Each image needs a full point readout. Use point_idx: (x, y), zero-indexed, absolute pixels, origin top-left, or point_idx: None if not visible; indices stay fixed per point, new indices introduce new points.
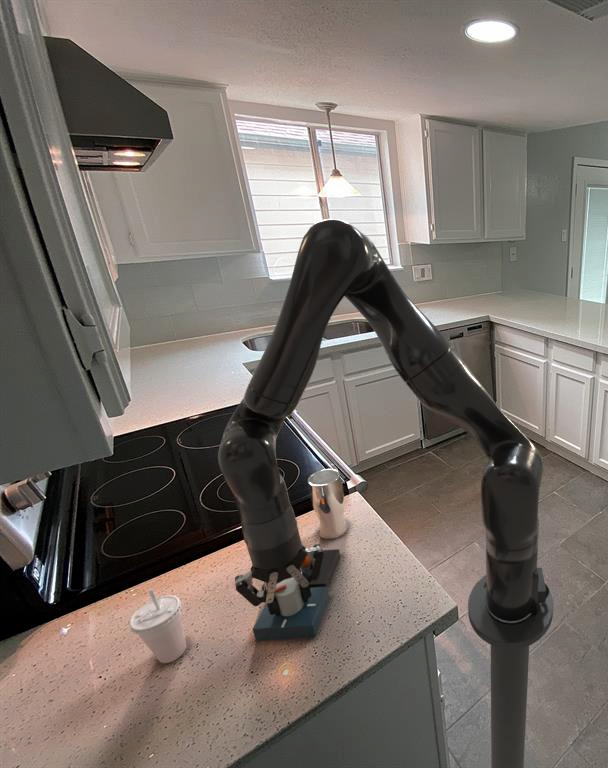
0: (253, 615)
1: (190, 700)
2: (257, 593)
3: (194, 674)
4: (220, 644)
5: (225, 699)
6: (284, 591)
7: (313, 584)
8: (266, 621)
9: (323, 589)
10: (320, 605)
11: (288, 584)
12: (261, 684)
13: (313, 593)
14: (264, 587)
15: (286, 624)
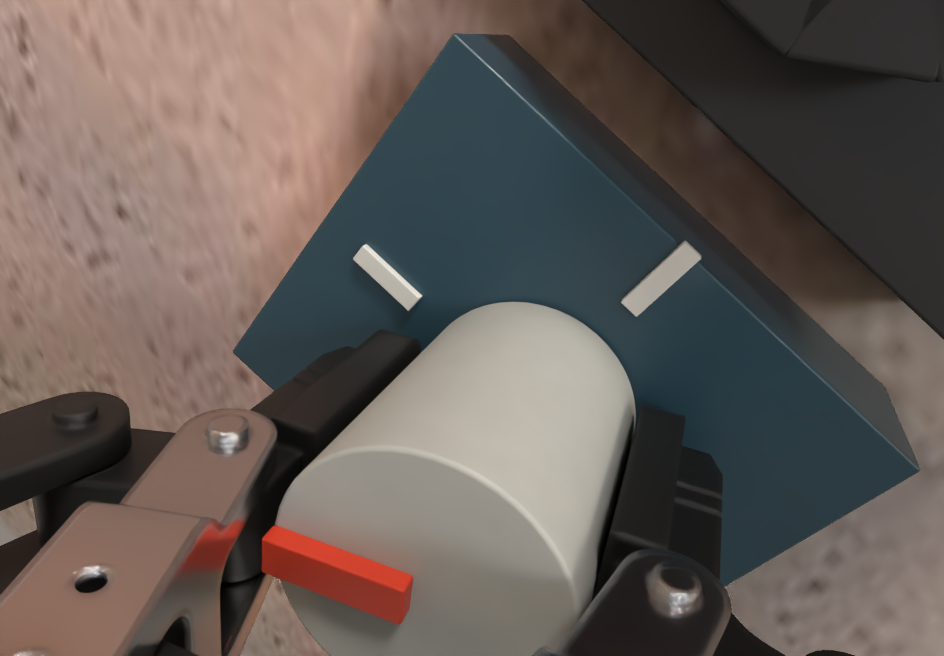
0: (326, 50)
1: (40, 376)
2: (67, 504)
3: (36, 248)
4: (134, 148)
5: None
6: (373, 635)
7: (845, 243)
8: None
9: (862, 469)
10: (724, 582)
11: (442, 594)
12: None
13: (753, 426)
14: (143, 481)
15: None
